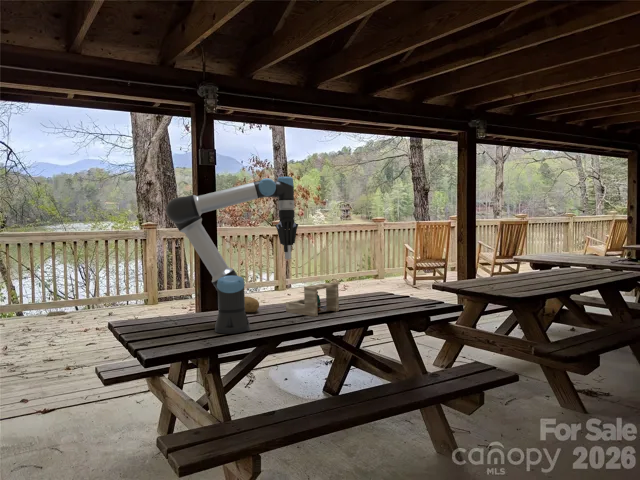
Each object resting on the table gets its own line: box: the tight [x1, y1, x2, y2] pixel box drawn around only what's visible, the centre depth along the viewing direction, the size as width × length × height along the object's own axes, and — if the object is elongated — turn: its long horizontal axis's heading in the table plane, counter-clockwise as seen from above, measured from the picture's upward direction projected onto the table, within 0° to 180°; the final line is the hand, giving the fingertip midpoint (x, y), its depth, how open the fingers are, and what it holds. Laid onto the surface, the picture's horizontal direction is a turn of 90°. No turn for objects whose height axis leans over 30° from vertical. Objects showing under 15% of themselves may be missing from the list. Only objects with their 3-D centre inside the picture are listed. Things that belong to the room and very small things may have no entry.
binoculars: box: [302, 290, 322, 312], centre depth 244 cm, size 9×11×10 cm
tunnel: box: [285, 282, 340, 318], centre depth 243 cm, size 18×21×14 cm
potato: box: [245, 296, 260, 313], centre depth 246 cm, size 10×14×8 cm
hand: (288, 258), depth 224 cm, fingers closed
